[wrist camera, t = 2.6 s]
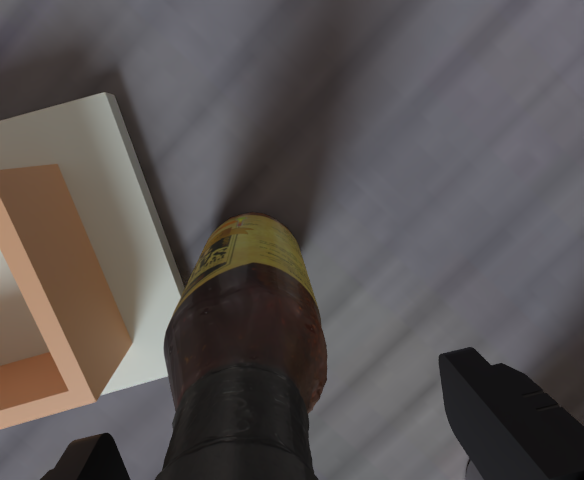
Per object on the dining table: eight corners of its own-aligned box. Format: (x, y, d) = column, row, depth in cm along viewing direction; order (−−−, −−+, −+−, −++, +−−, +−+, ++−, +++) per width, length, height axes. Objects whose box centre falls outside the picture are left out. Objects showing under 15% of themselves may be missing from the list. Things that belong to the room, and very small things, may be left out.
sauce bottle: (219, 197, 25) (97, 372, 6) (310, 224, 26) (452, 447, 7) (194, 289, 27) (32, 667, 7) (282, 311, 28) (337, 697, 8)
